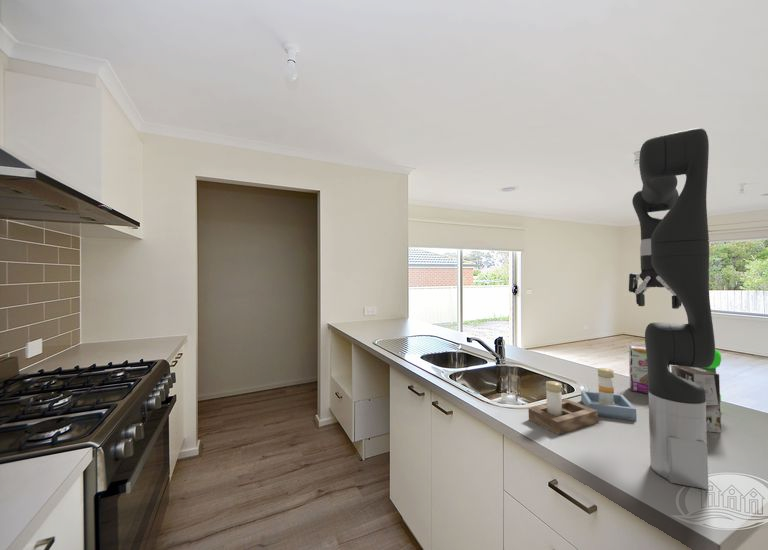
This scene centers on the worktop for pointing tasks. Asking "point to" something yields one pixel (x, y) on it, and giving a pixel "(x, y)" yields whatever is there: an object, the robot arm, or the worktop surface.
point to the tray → (609, 406)
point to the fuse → (554, 398)
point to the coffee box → (711, 390)
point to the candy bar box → (638, 369)
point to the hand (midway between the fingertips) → (657, 307)
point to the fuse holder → (564, 417)
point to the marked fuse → (606, 386)
